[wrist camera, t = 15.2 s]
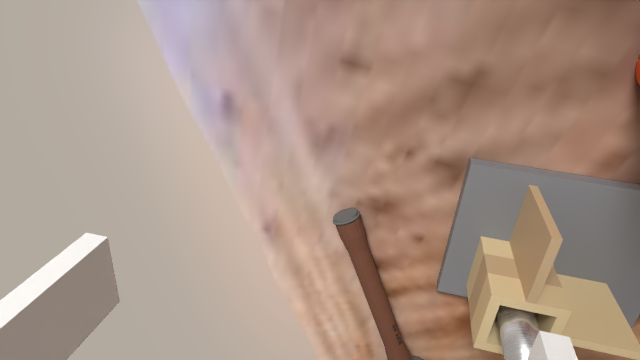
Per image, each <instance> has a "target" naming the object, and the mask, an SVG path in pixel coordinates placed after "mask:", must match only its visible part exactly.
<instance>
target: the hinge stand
mask: <svg viewBox="0 0 640 360" xmlns="http://www.w3.org/2000/svg"><path fill="white" fill-rule="evenodd" d="M437 291H440V292H444V293H449V294H454V295H459V296H464V297H468V304H469V313H470V322H471V331H472V340H473V348H477V349H481V350H486V351H490V352H494V353H499V354H503V350H502V344H501V339H500V333H499V328H498V323H497V317H496V314H497V311H498V309H499V306H500V305H501V306H506V307H511V308H515V309H520V310H525V311H530V312H534V314H535V318H536V321H537V324H538V328H539V331H544V332H548V333H553V334H558V335H562V336H567V337H570V340H571V342H572V345H573V346H576V347H581V348H585V349H590V350H595V351H599V352H604V353H608V354H613V355H617V356H622V357H627V358H631V359H636V360H640V344H639V342H638V340H637V338H636V336H635V335H634V333H633V331H632V329H631V328H632V327H633V325H634V323H635V321H636V320H637V318H638V316H639V315H640V184H634V183H628V182H621V181H615V180H609V179H602V178H596V177H590V176H583V175H577V174H571V173H564V172H558V171H551V170H545V169H539V168H532V167H526V166H520V165H513V164H507V163H501V162H494V161H488V160H482V159H475V158H470V159H469V163H468V166H467V170H466V174H465V178H464V182H463V185H462V189H461V193H460V197H459V201H458V204H457V208H456V212H455V216H454V220H453V223H452V227H451V231H450V235H449V239H448V242H447V246H446V250H445V254H444V258H443V261H442V265H441V269H440V273H439V277H438V280H437Z"/></svg>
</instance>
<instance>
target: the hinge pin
mask: <svg viewBox="0 0 640 360" xmlns="http://www.w3.org/2000/svg"><path fill="white" fill-rule="evenodd" d="M496 317H497V323H498V328H499V333H500V339H501V344H502V350H503V355H504V360H527V358H528V355H529V353H530V351H531V348H532V346H533V344H534V342H535V339H536V337H537V335H538V332H539V328H538V324H537V321H536V318H535V314H534V312H530V311H525V310H520V309H515V308H511V307H506V306H501V305H500V306H499V309H498V311H497V314H496Z"/></svg>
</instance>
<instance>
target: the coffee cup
mask: <svg viewBox="0 0 640 360" xmlns="http://www.w3.org/2000/svg"><path fill="white" fill-rule="evenodd" d="M636 79H637V82H638V84H639V85H640V56H639V58H638V61H637V64H636Z"/></svg>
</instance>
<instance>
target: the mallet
mask: <svg viewBox="0 0 640 360" xmlns="http://www.w3.org/2000/svg"><path fill="white" fill-rule="evenodd" d="M359 215H360V212H359V211H357V209H356V208H348V209H344V210H341V211H339V212H338V213H336V214H335V215H334V217H333V219H334V220H333V223H334V224H335V225H336V227H337V230H338V232H339V235H340V238H341V240H342V241H343V243H344V245H345V247H346V249H347V250H348V252H349V255H350V257H351V260H352V263H353V265H354V268H355V270H356V273H357V275H358V278H359V281H360V283H361V286H362V288H363V291H364V294H365V296H366V299H367V301H368V304H369V307H370V309H371V312H372V314H373V317H374V320H375V322H376V325H377V327H378V330H379V333H380V335H381V338H382V340H383V343H384V346H385V350H386V354H387V358H388V360H423V359H421V358H420V357H416V356H410V353H409V351H408V349H407V347H406V345H405V343H404V341H403V339H402V337H401V334H400V331H399V329H398V326H397V323H396V320H395V318H394V315H393V312H392V310H391V307H390V304H389V301H388V299H387V296H386V293H385V291H384V288H383V285H382V282H381V280H380V277H379V274H378V271H377V269H376V266H375V263H374V261H373V258H372V255H371V252H370V250H369V247H368V244H367V239H366V234H365V230H364V227H363V224H362V221H361V219H360V216H359Z"/></svg>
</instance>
